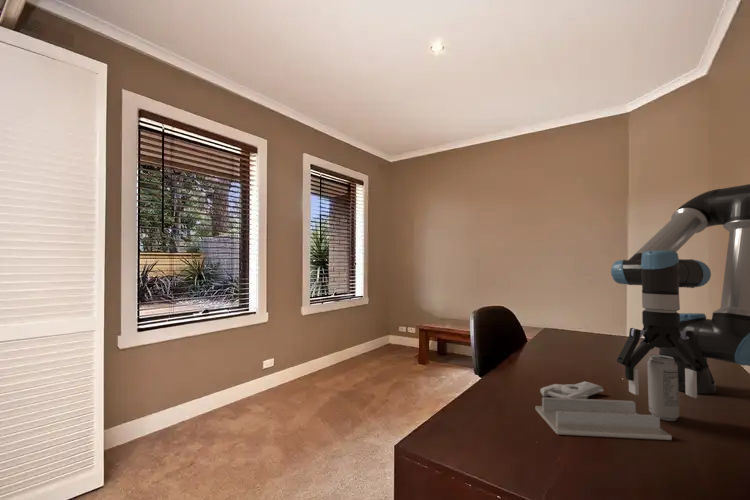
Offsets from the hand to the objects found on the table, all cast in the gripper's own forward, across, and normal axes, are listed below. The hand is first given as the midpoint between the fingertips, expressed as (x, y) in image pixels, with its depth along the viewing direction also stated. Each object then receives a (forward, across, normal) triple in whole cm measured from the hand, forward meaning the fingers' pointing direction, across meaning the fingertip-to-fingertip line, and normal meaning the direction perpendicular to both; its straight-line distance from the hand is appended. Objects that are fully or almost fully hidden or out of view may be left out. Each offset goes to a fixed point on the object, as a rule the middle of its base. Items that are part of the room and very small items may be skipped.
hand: (662, 394), depth 90 cm
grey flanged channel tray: (+6, +19, +6) cm, 20 cm away
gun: (+6, +16, -14) cm, 22 cm away
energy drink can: (+6, 0, 0) cm, 6 cm away
